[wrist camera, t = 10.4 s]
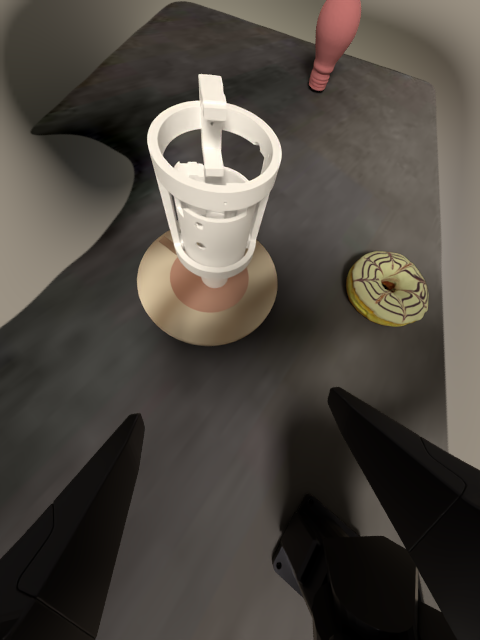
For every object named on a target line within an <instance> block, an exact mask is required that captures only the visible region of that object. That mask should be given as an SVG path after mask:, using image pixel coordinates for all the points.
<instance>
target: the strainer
mask: <svg viewBox="0 0 480 640" xmlns="http://www.w3.org/2000/svg"><path fill="white" fill-rule="evenodd" d="M199 97H200V101H190V102H185V103H181V104H178V105H175V106H172V107H170V108H168V109H166V110H165V111H163V112H162V113H161V114H159V115H158V116H157V117H156V118H155V120H154V121H153V122H152V124H151V126H150V128H149V131H148V136H147V142H148V148H149V151H150V155H151V159H152V163H153V167H154V170H155V174H156V178H157V182H158V186H159V189H160V193H161V197H162V201H163V204H164V208H165V212H166V216H167V220H168V223H169V227H170V231H171V235H172V239H173V242H174V246H175V250H176V254H177V256H178V258H179V260H180V262H181V263H182V264H183V265H184V266H185V267H186V268H187V269H188V270H189V271H191V272H192V273H194V274H196V275H198V276H200V277H201V278H202V281H203V283H204V284H205V285H206V286H208V287H211V288H219V287H222V286H223V285H225V283H226V282H227V280H228V278H230V277H233V276H235V275H237V274H239V273H240V272H242V271H243V270H244V269H245V268H246V267H247V266H248V264H249V263H250V261H251V259H252V256H253V253H254V249H255V245H256V238H257V234H258V231H259V227H260V224H261V220H262V217H263V214H264V210H265V207H266V203H267V200H268V196H269V193H270V191H271V189H272V187H273V185H274V183H275V179H276V176H277V172H278V169H279V166H280V162H281V157H282V152H281V146H280V143H279V140H278V138H277V136H276V135H275V133H274V132H273V130H272V129H271V128H270V127H269V126H268V125H267V124H266V123H265V122H264V121H263V120H261V119H260V118H259V117H257V116H256V115H254V114H253V113H251V112H249V111H247V110H245V109H242V108H240V107H237V106H234V105H231V104H227V103H226V98H225V95H224V93H223V84H222V79H221V76H216V75H204V74H199ZM195 129H201V142H202V152H203V159H204V166H203V164H197V162H188V164H180V163H179V162H178V163H177V164H176V165H175V167H174V168H173V167H172V166H171V165H170V164H169V163H168V162H167V161H166V160H165V159H164V157H163V153H164V150H165V148H166V147H167V145H168V144H169V143H170V142H171V141H172V140H173V139H174V138H175V137H177V136H178V135H180V134H182V133H185V132H187V131H191V130H195ZM222 130H226V131H229V132H232V133H235V134H238V135H240V136H242V137H244V138H245V139H247V140H249V141H250V142H251V143H253V144H254V145H260V152H261V153H262V154H263V156H264V162H263V167H262V171H261V175H260V176H258V177H257V178H255V179H253V180H251V181H248V180H247V179H246V178H245V177H244V176H243V175H241V174H240V173H238V172H237V171H235V170H232V169H230V168H227V167H223V162H222V156H221V133H222ZM171 194H172V195H174V199H175V204H176V209H177V214H178V219H179V220H178V221H177V220H176V215H175V211H174V206H173V201H172V196H171ZM197 242H198V245H197ZM246 248H248V251H247V253H246V255H245V256H244V254H245V250H246ZM243 256H244V257H243Z"/></svg>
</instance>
